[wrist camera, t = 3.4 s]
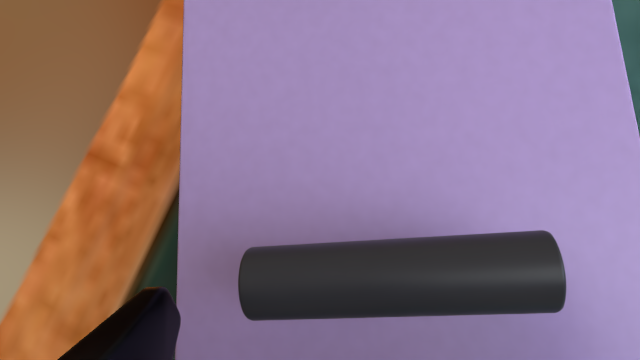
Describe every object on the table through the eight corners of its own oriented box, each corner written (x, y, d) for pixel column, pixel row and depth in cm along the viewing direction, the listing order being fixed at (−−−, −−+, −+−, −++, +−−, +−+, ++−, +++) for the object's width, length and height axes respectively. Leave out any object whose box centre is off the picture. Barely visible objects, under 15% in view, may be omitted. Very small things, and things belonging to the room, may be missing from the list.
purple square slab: (686, 455, 10) (911, 606, 5) (186, 441, 12) (57, 539, 8) (574, -113, 13) (658, -310, 9) (195, -42, 15) (108, -169, 11)
